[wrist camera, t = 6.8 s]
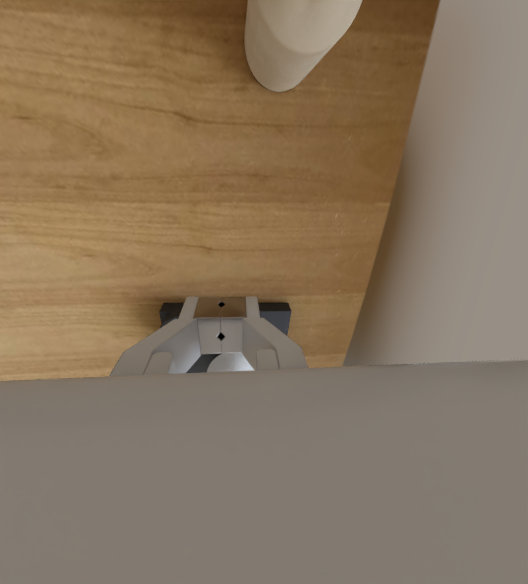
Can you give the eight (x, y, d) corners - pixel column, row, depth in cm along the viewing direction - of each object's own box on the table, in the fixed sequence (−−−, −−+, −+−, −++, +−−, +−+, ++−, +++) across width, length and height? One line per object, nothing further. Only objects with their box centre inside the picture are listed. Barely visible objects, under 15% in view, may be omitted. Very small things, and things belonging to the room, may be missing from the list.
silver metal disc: (280, 344, 29) (281, 346, 29) (273, 391, 34) (273, 393, 34) (205, 346, 28) (204, 349, 27) (208, 395, 33) (208, 397, 32)
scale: (288, 299, 30) (295, 315, 27) (277, 373, 37) (281, 391, 34) (162, 300, 28) (154, 317, 25) (176, 377, 35) (171, 398, 32)
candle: (323, 66, 18) (402, -12, 10) (266, 108, 19) (293, 69, 11) (295, -29, 16) (369, -249, 7) (229, 25, 17) (227, -113, 8)
